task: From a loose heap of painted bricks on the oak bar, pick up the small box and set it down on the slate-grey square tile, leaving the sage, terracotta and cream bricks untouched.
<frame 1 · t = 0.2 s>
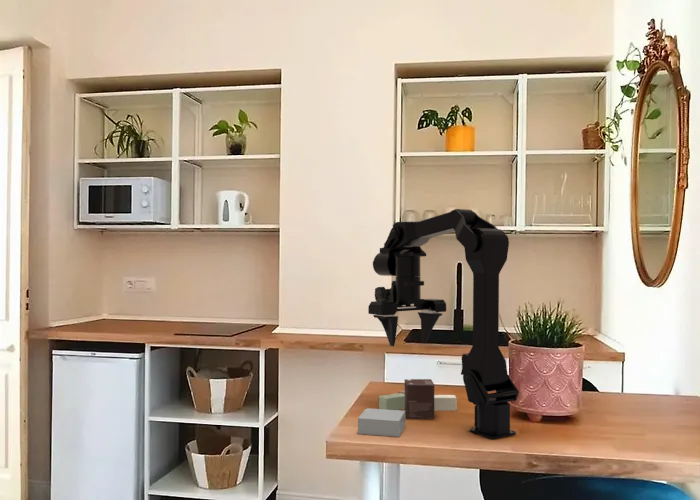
hand: (408, 344, 145), 14 cm above the table, fingers open, 9 cm apart
sage brick: (393, 409, 142), on the table
cream brick: (442, 409, 141), on the table
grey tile: (382, 429, 124), on the table
terracotta brick: (412, 404, 146), on the table
box: (419, 416, 135), on the table
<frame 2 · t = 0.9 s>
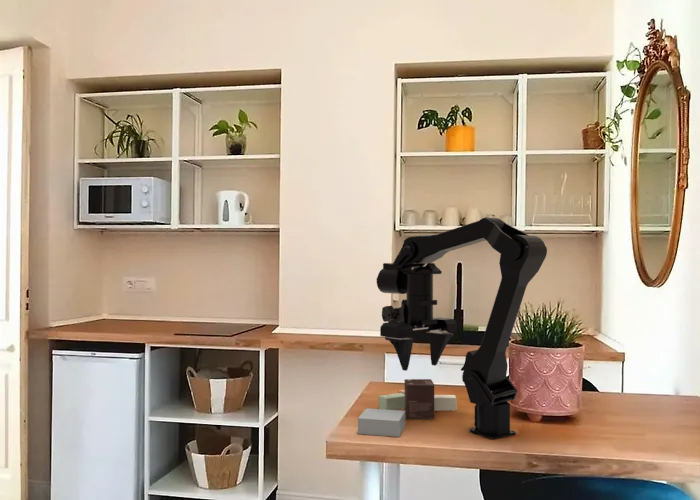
hand: (419, 367, 135), 10 cm above the table, fingers open, 9 cm apart
nothing on the table moved.
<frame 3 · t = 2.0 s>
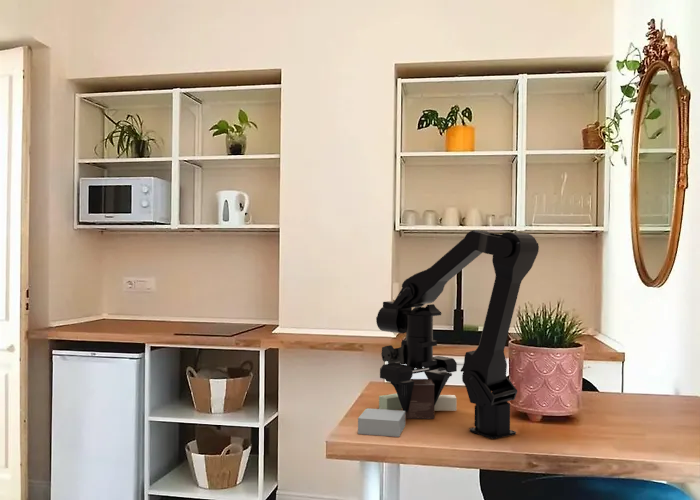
hand: (419, 408, 135), 2 cm above the table, fingers closed on box, 8 cm apart
box: (419, 416, 135), on the table, touching gripper
everything else where it was.
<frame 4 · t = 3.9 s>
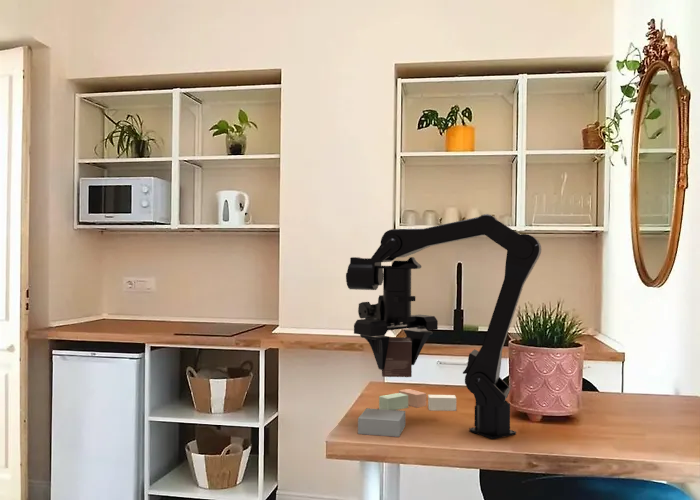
hand: (396, 367, 129), 12 cm above the table, fingers closed on box, 8 cm apart
box: (396, 375, 129), point 10 cm above the table, touching gripper
everything else where it was.
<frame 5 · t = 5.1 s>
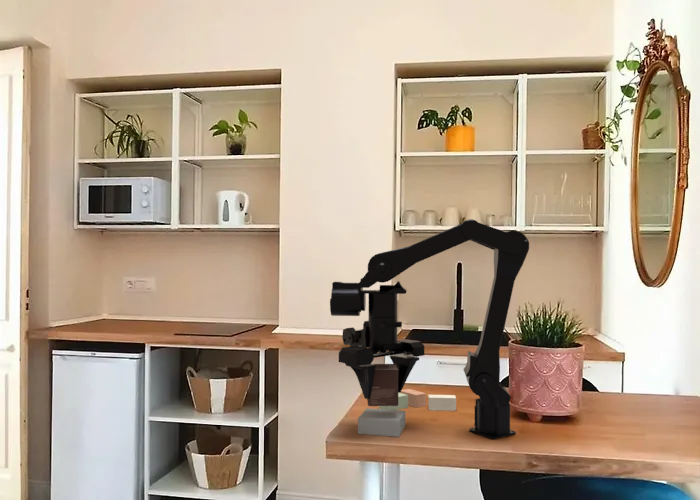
hand: (382, 395, 124), 7 cm above the table, fingers closed on box, 8 cm apart
box: (382, 404, 124), point 5 cm above the table, touching gripper
everything else where it was.
when the fingers open (6 cm above the table, at t = 5.8 s): box drops 2 cm, resting on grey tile.
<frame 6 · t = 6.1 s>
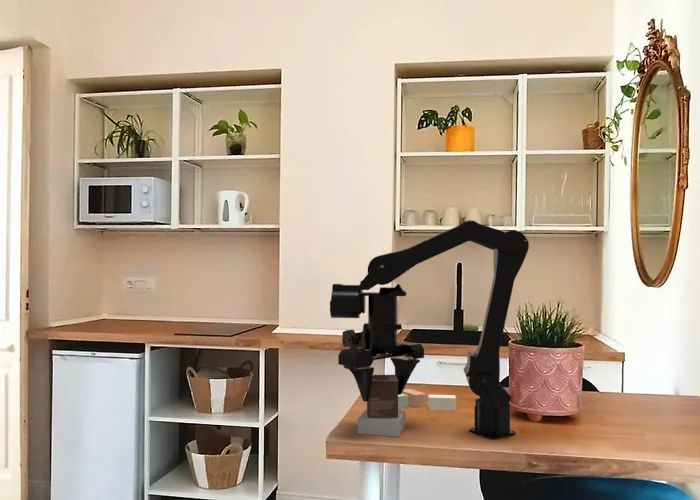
hand: (382, 397, 124), 6 cm above the table, fingers open, 9 cm apart
box: (382, 415, 124), point 3 cm above the table, touching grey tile
everything else where it was.
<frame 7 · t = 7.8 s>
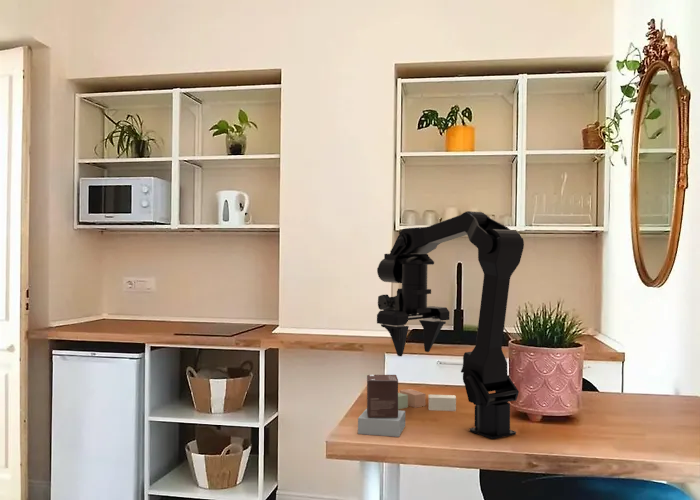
hand: (413, 353, 141), 12 cm above the table, fingers open, 9 cm apart
nothing on the table moved.
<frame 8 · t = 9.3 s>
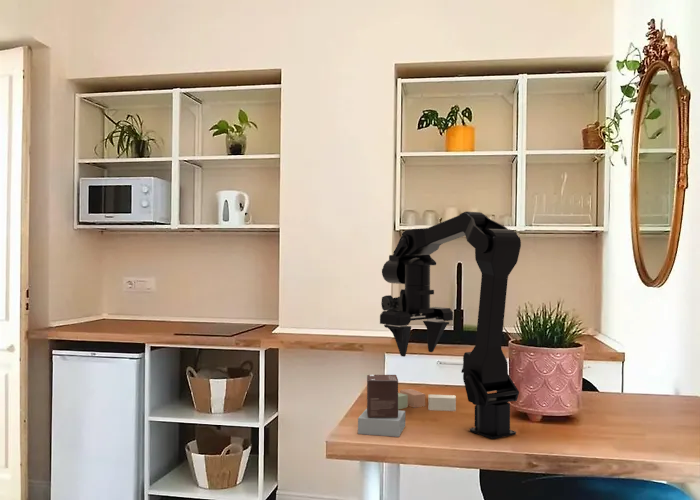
hand: (417, 354, 143), 12 cm above the table, fingers open, 9 cm apart
nothing on the table moved.
at the end: box 0.0 cm off-centre on the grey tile, point 2.8 cm above the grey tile's base; box tilted 0°; sage brick moved 0.2 cm from its start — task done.
